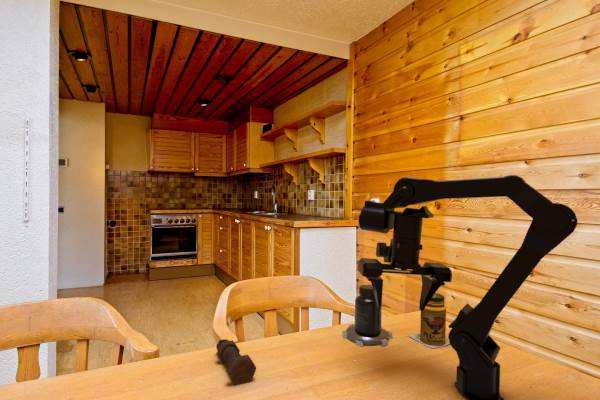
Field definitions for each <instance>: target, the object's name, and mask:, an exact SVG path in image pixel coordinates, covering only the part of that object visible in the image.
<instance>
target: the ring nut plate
mask: <svg viewBox="0 0 600 400" xmlns="http://www.w3.org/2000/svg"><path fill="white" fill-rule="evenodd" d="M342 338H343V339H347V340H348V341H350V342H353V343H354V344H355V345H356V346H357V347H358V346H359V347H364V346H380V347H385V346H388V345H389V344H388V343H389V340H390V339H393V333H392V331H391V330H386V329H384V328H383V327H381V334H380V335H379V336H376V337H364V336H360V335H358V334H357V333H356V332H355V323H352V324H349V325H348V327H347V328H346V330H342Z"/></svg>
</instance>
